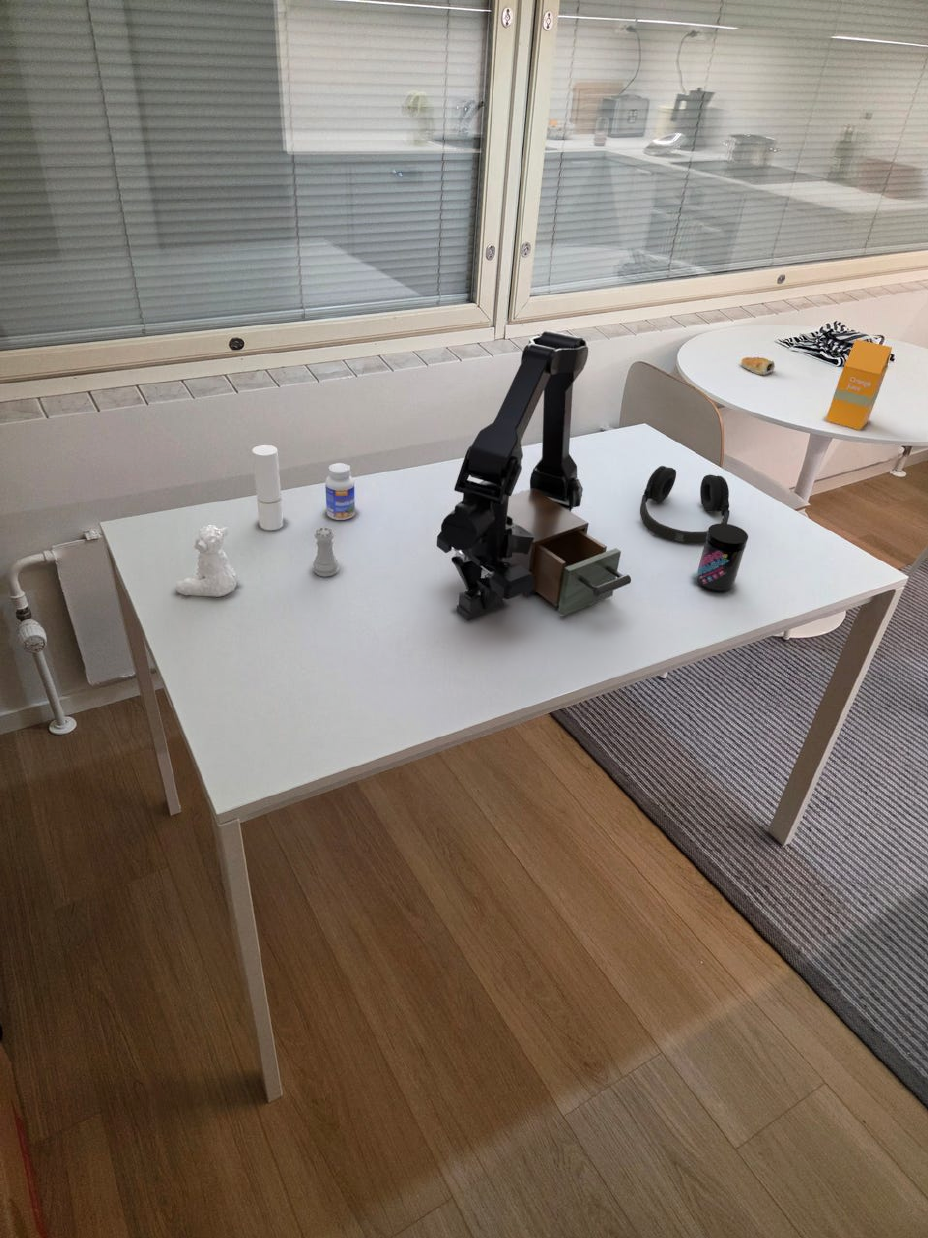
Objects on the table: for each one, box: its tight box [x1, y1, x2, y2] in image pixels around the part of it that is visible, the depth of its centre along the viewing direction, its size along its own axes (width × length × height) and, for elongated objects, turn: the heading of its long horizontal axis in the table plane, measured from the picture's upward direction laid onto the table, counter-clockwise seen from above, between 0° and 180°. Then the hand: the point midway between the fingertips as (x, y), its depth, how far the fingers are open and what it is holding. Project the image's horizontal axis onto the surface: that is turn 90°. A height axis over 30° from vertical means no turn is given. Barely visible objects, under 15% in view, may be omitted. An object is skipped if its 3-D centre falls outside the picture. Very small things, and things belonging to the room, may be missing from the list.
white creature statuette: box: [175, 524, 238, 598], centre depth 134 cm, size 10×9×12 cm
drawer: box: [532, 530, 632, 617], centre depth 138 cm, size 18×11×9 cm, turn 36°
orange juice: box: [825, 338, 893, 431], centre depth 208 cm, size 8×9×20 cm
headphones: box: [639, 465, 730, 545], centre depth 164 cm, size 17×8×20 cm
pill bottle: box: [324, 462, 356, 521], centre depth 157 cm, size 5×5×10 cm
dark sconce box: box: [456, 587, 505, 621], centre depth 136 cm, size 8×3×4 cm, turn 126°
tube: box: [251, 444, 284, 531], centre depth 150 cm, size 4×4×15 cm
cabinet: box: [502, 488, 589, 597], centre depth 145 cm, size 15×13×11 cm
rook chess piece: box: [312, 526, 340, 578], centre depth 141 cm, size 4×4×8 cm
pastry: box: [740, 356, 776, 376], centre depth 241 cm, size 9×7×4 cm
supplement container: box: [695, 522, 749, 594], centre depth 144 cm, size 7×7×10 cm
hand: (480, 603), depth 136 cm, fingers closed on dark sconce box, 3 cm apart
